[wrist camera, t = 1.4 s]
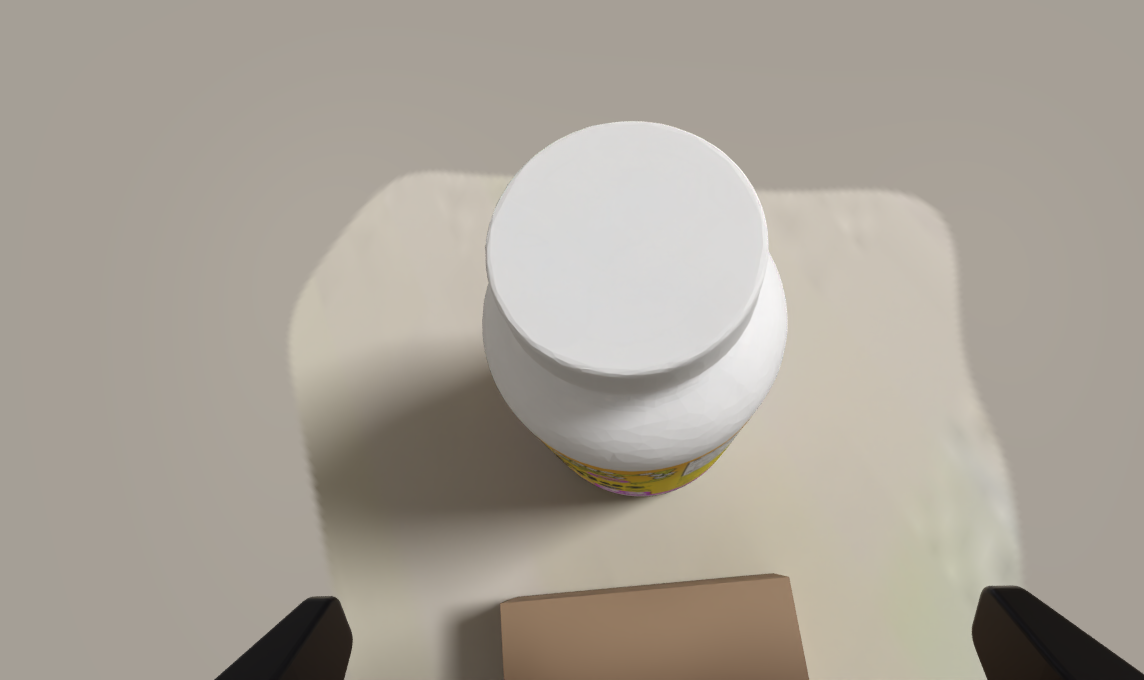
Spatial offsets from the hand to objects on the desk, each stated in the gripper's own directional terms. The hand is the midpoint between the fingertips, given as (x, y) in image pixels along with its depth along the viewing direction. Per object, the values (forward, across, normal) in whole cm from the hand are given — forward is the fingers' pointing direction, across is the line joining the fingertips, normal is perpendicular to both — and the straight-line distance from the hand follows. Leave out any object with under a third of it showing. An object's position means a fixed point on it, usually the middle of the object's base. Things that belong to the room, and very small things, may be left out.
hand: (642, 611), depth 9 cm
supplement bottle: (+13, 0, +5) cm, 14 cm away
